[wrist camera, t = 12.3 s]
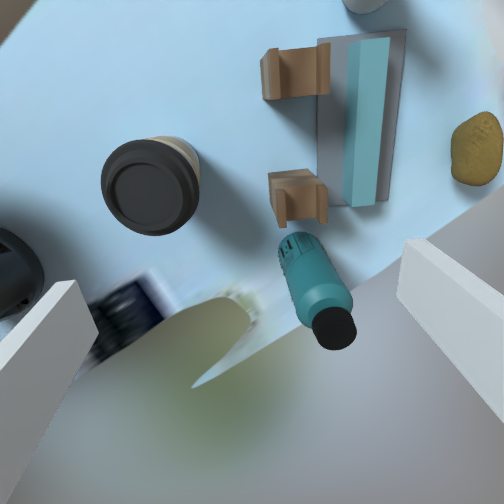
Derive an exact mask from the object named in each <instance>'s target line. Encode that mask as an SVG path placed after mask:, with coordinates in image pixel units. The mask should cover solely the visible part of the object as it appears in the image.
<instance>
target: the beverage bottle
mask: <svg viewBox="0 0 504 504" xmlns="http://www.w3.org/2000/svg"><path fill="white" fill-rule="evenodd" d="M317 239H318V238H317ZM317 239H316V238H315V237H314V236H313V235H311V234H309V233H307V232H294V233H292V234H290V235H288V236H287V237H285V238H284V239H283V241H282V242H281V244H280V247H279V248H278V249H279V251H278V253H279V259H280V261H281V263H280V265H281V264H282V267H281V268H282V269H283V272H284V276H285V277H286V281H287V284H288V287H289V290H288V291H290V292H289V293H290V294H291V297H292V298H291V299H292V300H293V302H294V305H295V309H296V314H297V317H298V319H299V320H300V322H301V323H302V324H303V325H305V326H306V327H308V328H311V329H312V330H313V333H314V335H315V336H316V338H317V340H318V342H319V344H320V345H321V346H322V347H323V348H326V349H328V350H341V349H343V348H346V347H347V346H349V345H350V344H351V343H352V342H353V341H354V340H355V338H356V334H357V330H356V326H355V324H354V321H353V318H352V316H351V314H350V313H351V311H352V308H353V299H352V296H351V294H350V292H349V291H348V290H347V288H346V287H345V285H344V284H343V282H342V280H341V279H340V277H339V275H338V274H337V272H336V270H335V269H334V268H335V267H333V265H332V263H331V261H330V260H331V259H330V257H329V258H328V256H327V255H326V254H327V253H326V251H325V252H324V250H325V249H324V248H322V247H323V246H322V247H321V245H320V244H321V243H319V242H320V241H319V242H318V240H317ZM323 249H324V250H323ZM329 259H330V260H329ZM280 261H279V262H280ZM292 300H291V301H292Z"/></svg>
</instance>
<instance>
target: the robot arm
mask: <svg viewBox="0 0 504 504" xmlns="http://www.w3.org/2000/svg"><path fill="white" fill-rule="evenodd" d="M43 284H44V275H43V270H42V267H41V264H40V262H39V260H38V258H37V257H36V255H35V254H34V253H33V251H32V250H31V249H30V248H29V247H28V246H27V245H26V244H25V243H24V242H23V241H22V240H21V239H19V238H18V237H16V236H15V235H14V234H12V233H10V232H8V231H7V230H5V229H3V228H0V322H1V321H3V320H5V319H7V318H9V317H12V316H14V315H16V314H18V313H20V312H22V311H23V310H25V309H26V308H27V307H28V306H29V305H30V304H31V303H32V302H33V301H34V300H35V299H36V298H37V297H38V296H39V294H40V293H41V291H42V288H43ZM396 297H397V298H398V299H399V300H400V301H401V303H402V304H403V305H404V306H405V307H406V308H407V309H408V311H409V312H410V313H411V314H412V315H413V317H414V318H415V319H416V320H417V321H418V322H419V324H420V325H421V326H422V327H423V328H424V330H425V331H426V332H427V333H428V334H429V336H430V337H431V338H432V339H433V340H434V342H435V343H436V344H437V345H438V346H439V347H440V349H441V350H442V351H443V352H444V353H445V355H446V356H447V357H448V358H449V359H450V360H451V362H452V363H453V364H454V365H455V366H456V367H457V369H458V370H459V371H460V372H461V373H462V375H463V376H464V377H465V378H466V379H467V380H468V382H469V383H470V384H471V385H472V386H473V388H474V389H475V390H476V391H477V392H478V393H479V395H480V396H481V397H482V398H483V399H484V400H485V402H486V403H487V404H488V405H489V406H490V408H491V409H492V410H493V411H494V412H495V414H496V415H497V416H498V417H499V418H500V419H501V421H502V422H503V423H504V296H503V295H502V294H500V293H499V292H497V291H496V290H495V289H493V288H492V287H491V286H489V285H488V284H486V283H485V282H484V281H482V280H481V279H480V278H478V277H477V276H475V275H474V274H473V273H471V272H470V271H468V270H467V269H466V268H464V267H463V266H462V265H460V264H459V263H457V262H456V261H455V260H453V259H452V258H450V257H449V256H448V255H446V254H445V253H443V252H442V251H441V250H439V249H438V248H437V247H435V246H434V245H432V244H431V243H430V242H428V241H427V240H425V239H424V238H418V239H410V240H404V247H403V254H402V261H401V267H400V274H399V282H398V289H397V296H396ZM98 334H99V332H98V330H97V328H96V325H95V323H94V321H93V318H92V316H91V314H90V311H89V309H88V306H87V304H86V302H85V299H84V297H83V295H82V292H81V290H80V288H79V285H78V283H77V281H76V280H69V281H61V282H56V283H55V284H54V285H53V286H52V287H51V288H50V290H49V291H48V292H47V293H46V294H45V295H44V296H43V297H42V298H41V299H40V300H39V301H38V303H37V304H36V305H35V306H34V307H33V308H32V309H31V310H30V311H29V312H28V313H27V314H26V315H25V317H24V318H23V319H22V320H21V321H20V322H19V323H18V324H17V325H16V326H15V327H14V328H13V330H12V331H11V332H10V333H9V334H8V335H7V336H6V337H5V338H4V339H3V340H2V341H1V343H0V504H6V503H7V501H8V499H9V497H10V495H11V493H12V492H13V490H14V488H15V486H16V484H17V483H18V481H19V479H20V477H21V475H22V473H23V472H24V470H25V468H26V466H27V464H28V462H29V460H30V459H31V457H32V455H33V453H34V451H35V449H36V448H37V446H38V444H39V442H40V440H41V439H42V437H43V435H44V433H45V431H46V429H47V427H48V426H49V424H50V422H51V420H52V418H53V417H54V415H55V413H56V411H57V409H58V407H59V406H60V404H61V402H62V400H63V398H64V396H65V394H66V393H67V391H68V389H69V387H70V385H71V383H72V382H73V380H74V378H75V376H76V374H77V372H78V371H79V369H80V367H81V365H82V363H83V361H84V360H85V358H86V356H87V354H88V352H89V350H90V349H91V347H92V345H93V343H94V341H95V339H96V338H97V336H98Z"/></svg>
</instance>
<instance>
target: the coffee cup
mask: <svg viewBox="0 0 504 504" xmlns="http://www.w3.org/2000/svg"><path fill="white" fill-rule="evenodd" d="M199 185H200V168H199V159H198V156H197V153H196V151H195V150H194V148H193V147H192V146H191V145H190V144H189V143H188V142H187V141H185V140H183V139H181V138H179V137H175V136H158V137H153V138H147V139H142V140H134V141H130V142H127V143H125V144H123V145H121V146H120V147H118V148H117V149H116V150H115V151H113V152H112V154H111V155H110V156H109V157H108V159H107V160H106V162H105V164H104V167H103V170H102V174H101V190H102V194H103V198H104V200H105V203H106V205H107V207H108V208H109V210H110V211H111V213H112V214H113V215H114V217H115V218H116V219H117V220H118V221H119V222H120V223H122V224H123V225H124V226H126V227H127V228H129V229H131V230H132V231H135V232H137V233H140V234H143V235H148V236H162V235H166V234H170V233H172V232H174V231H176V230H178V229H179V228H180V227H182V226H183V225H184V224H185V223H186V222H187V221H188V220H189V219H190V218H191V217H192V215H193V214H194V212H195V210H196V208H197V205H198V201H199Z"/></svg>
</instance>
